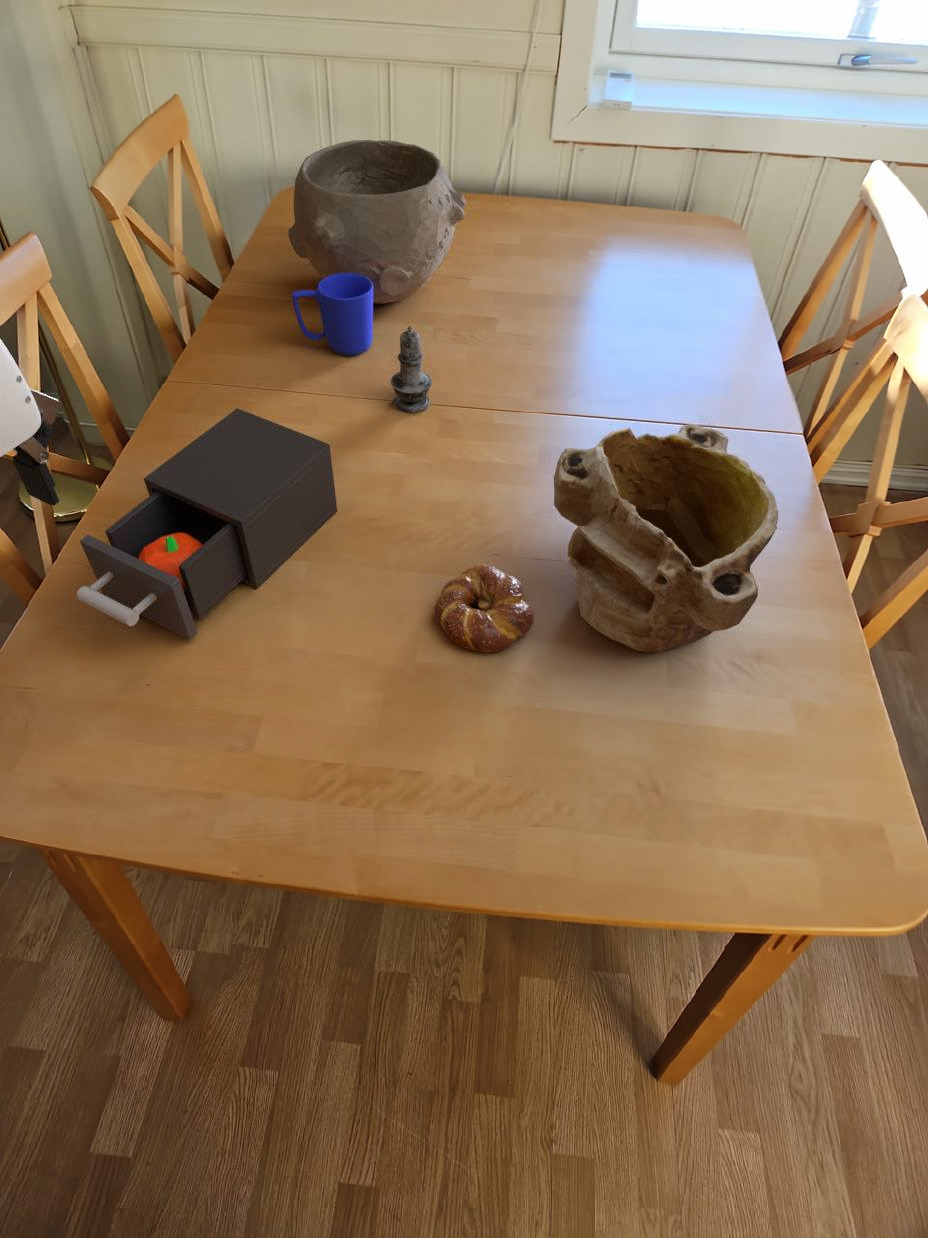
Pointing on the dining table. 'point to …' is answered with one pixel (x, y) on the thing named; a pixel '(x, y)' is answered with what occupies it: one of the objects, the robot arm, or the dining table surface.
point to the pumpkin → (170, 553)
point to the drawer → (152, 589)
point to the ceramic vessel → (663, 534)
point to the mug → (342, 312)
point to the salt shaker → (411, 376)
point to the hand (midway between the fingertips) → (14, 517)
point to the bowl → (375, 214)
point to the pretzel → (483, 609)
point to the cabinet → (255, 486)
